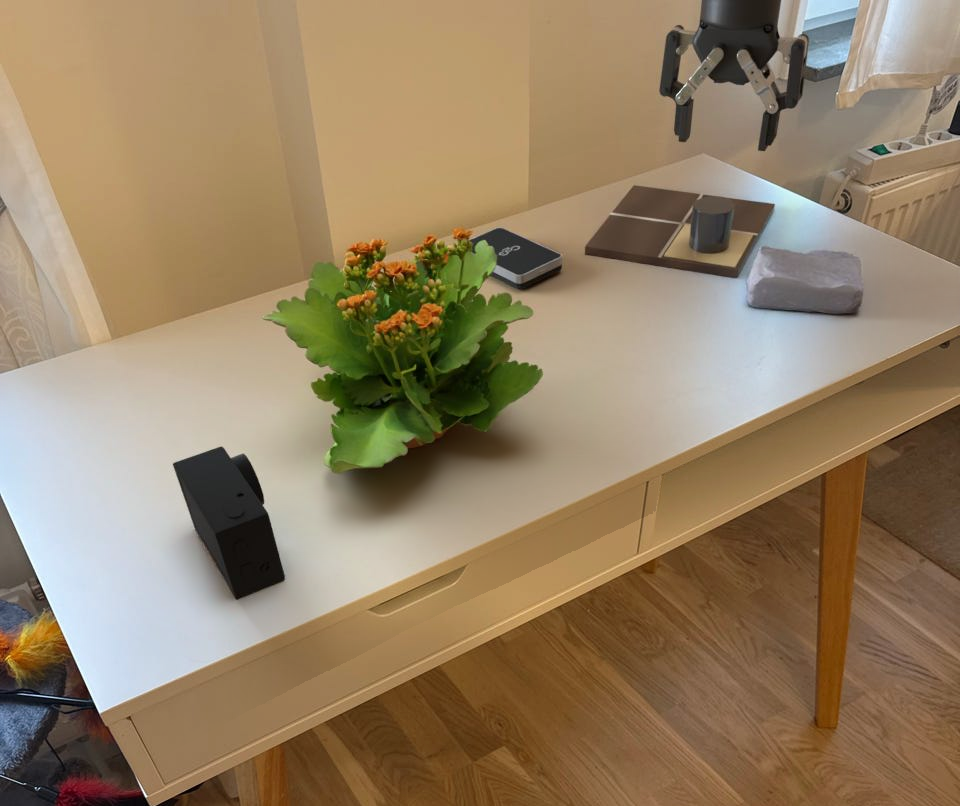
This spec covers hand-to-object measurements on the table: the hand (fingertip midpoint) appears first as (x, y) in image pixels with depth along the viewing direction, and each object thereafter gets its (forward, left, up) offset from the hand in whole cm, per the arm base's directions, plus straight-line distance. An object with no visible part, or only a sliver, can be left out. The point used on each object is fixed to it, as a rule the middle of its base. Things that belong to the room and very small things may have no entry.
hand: (723, 144), depth 103 cm
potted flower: (+18, +41, -12) cm, 47 cm away
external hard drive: (+21, +11, -12) cm, 26 cm away
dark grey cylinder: (0, 0, -11) cm, 11 cm away
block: (-12, +5, -12) cm, 18 cm away
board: (+5, -4, -12) cm, 14 cm away
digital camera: (+22, +64, -12) cm, 68 cm away
